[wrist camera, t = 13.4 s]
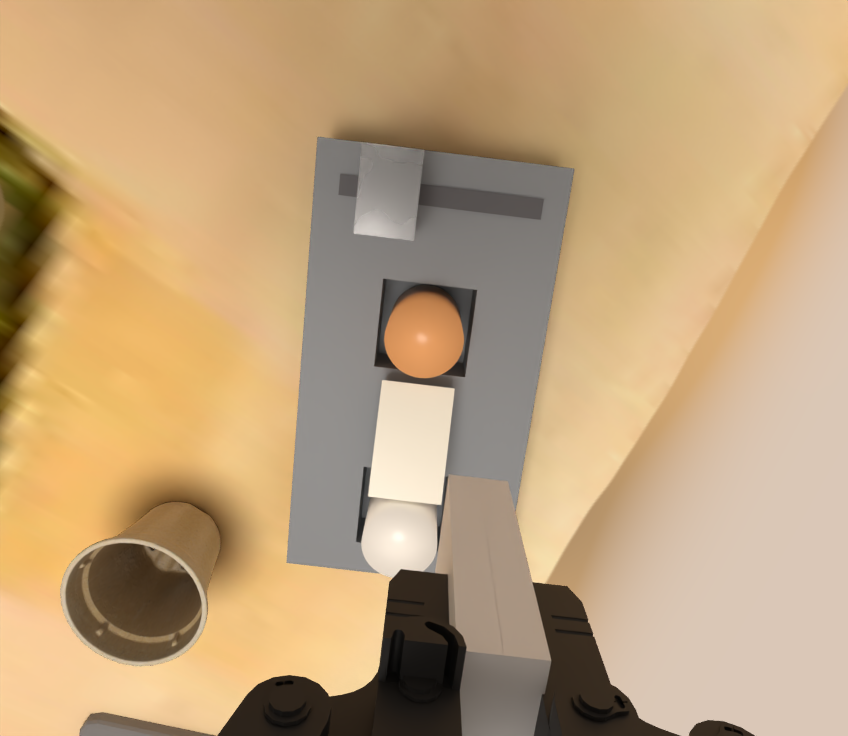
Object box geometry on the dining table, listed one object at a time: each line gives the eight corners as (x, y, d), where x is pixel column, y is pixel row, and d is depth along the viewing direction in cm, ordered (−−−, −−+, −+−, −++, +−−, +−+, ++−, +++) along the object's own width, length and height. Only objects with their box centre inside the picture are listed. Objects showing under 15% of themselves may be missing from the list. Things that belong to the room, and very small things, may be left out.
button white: (367, 525, 47) (357, 573, 41) (374, 465, 46) (365, 506, 40) (432, 533, 47) (432, 582, 41) (440, 473, 46) (441, 515, 40)
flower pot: (190, 457, 50) (140, 512, 41) (268, 551, 52) (235, 622, 43) (95, 521, 51) (29, 586, 43) (174, 610, 53) (126, 689, 45)
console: (300, 526, 51) (282, 574, 45) (330, 141, 44) (313, 134, 37) (496, 549, 51) (504, 599, 45) (559, 170, 44) (579, 168, 38)
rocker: (369, 493, 41) (367, 496, 40) (383, 380, 42) (382, 379, 40) (440, 501, 41) (441, 505, 40) (453, 388, 42) (454, 388, 40)
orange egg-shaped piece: (387, 348, 45) (380, 373, 39) (394, 281, 44) (388, 295, 38) (455, 357, 45) (458, 382, 39) (464, 289, 44) (469, 305, 38)
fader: (362, 227, 40) (353, 233, 35) (370, 146, 38) (361, 141, 34) (416, 234, 40) (413, 240, 35) (425, 153, 38) (424, 149, 34)
